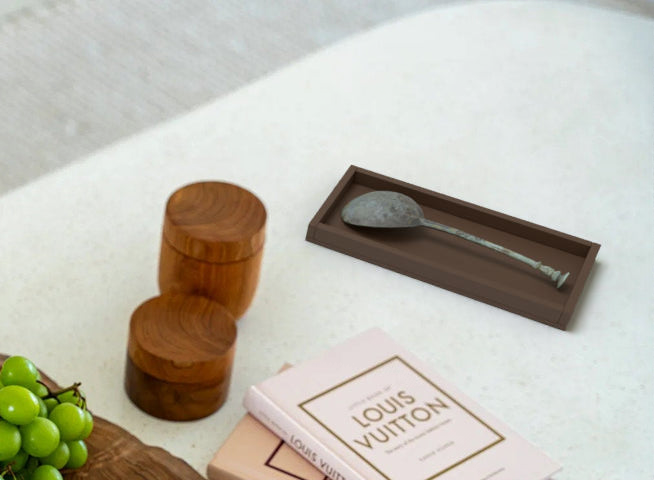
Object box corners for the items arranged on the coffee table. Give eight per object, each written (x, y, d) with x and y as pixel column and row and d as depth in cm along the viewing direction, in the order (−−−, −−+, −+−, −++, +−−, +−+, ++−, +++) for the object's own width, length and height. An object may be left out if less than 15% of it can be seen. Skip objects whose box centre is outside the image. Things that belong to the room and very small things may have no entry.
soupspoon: (356, 196, 118) (329, 231, 114) (361, 169, 115) (333, 204, 112) (574, 269, 109) (551, 309, 105) (584, 241, 106) (562, 282, 103)
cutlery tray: (594, 260, 111) (601, 244, 109) (564, 331, 104) (572, 314, 102) (347, 180, 119) (351, 164, 118) (304, 240, 112) (308, 223, 111)
